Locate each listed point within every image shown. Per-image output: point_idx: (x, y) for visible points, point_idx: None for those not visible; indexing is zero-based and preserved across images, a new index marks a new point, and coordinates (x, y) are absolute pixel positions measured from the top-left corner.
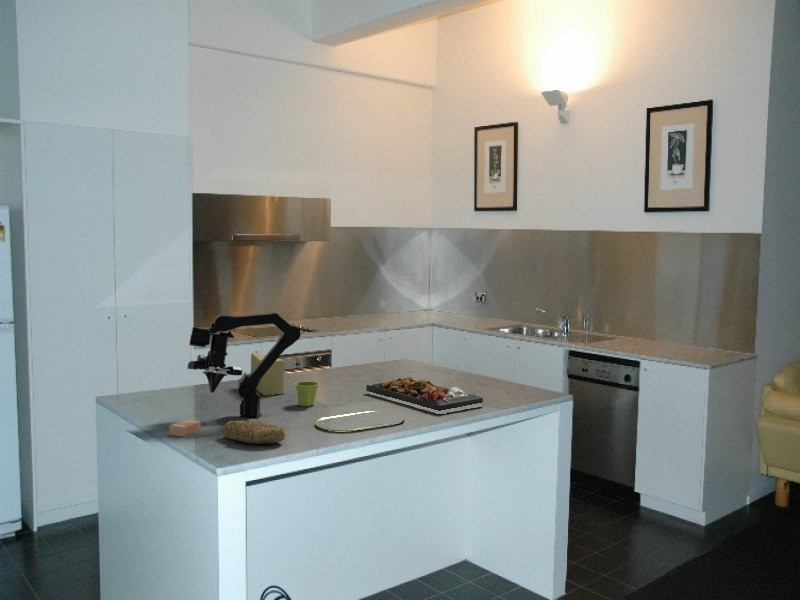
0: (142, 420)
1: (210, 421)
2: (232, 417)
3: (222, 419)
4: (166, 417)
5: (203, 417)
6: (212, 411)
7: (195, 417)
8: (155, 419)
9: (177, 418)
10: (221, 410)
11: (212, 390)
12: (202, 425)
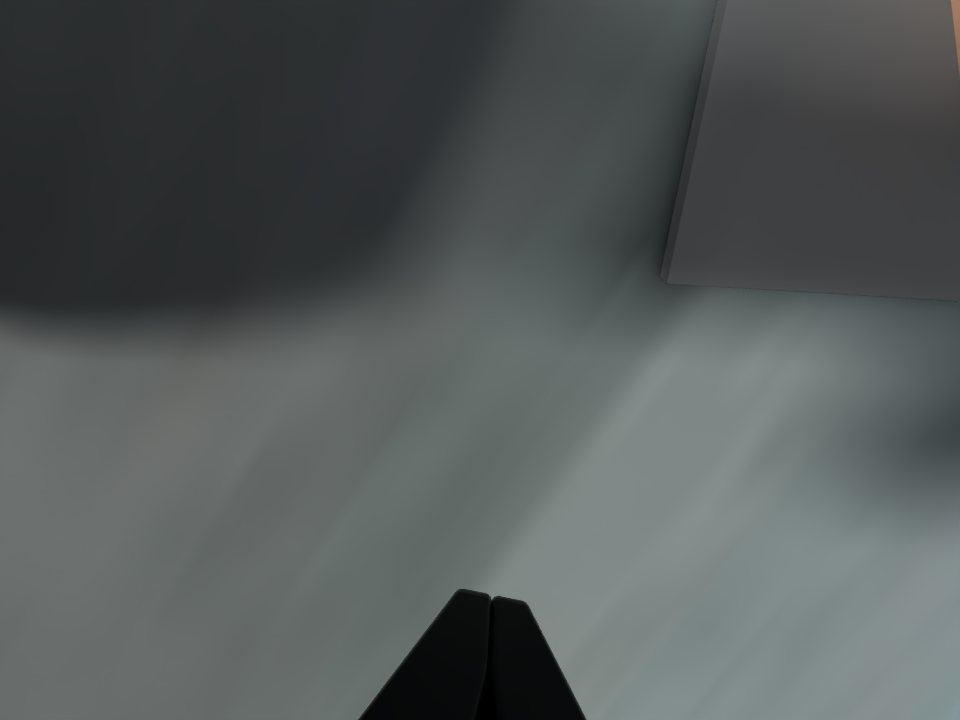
0: (925, 715)
1: (437, 314)
2: (31, 327)
3: (231, 311)
4: (706, 713)
5: (397, 536)
6: (149, 715)
7: (475, 581)
8: (827, 696)
9: (653, 635)
10: (16, 710)
11: (518, 631)
12: (716, 112)
